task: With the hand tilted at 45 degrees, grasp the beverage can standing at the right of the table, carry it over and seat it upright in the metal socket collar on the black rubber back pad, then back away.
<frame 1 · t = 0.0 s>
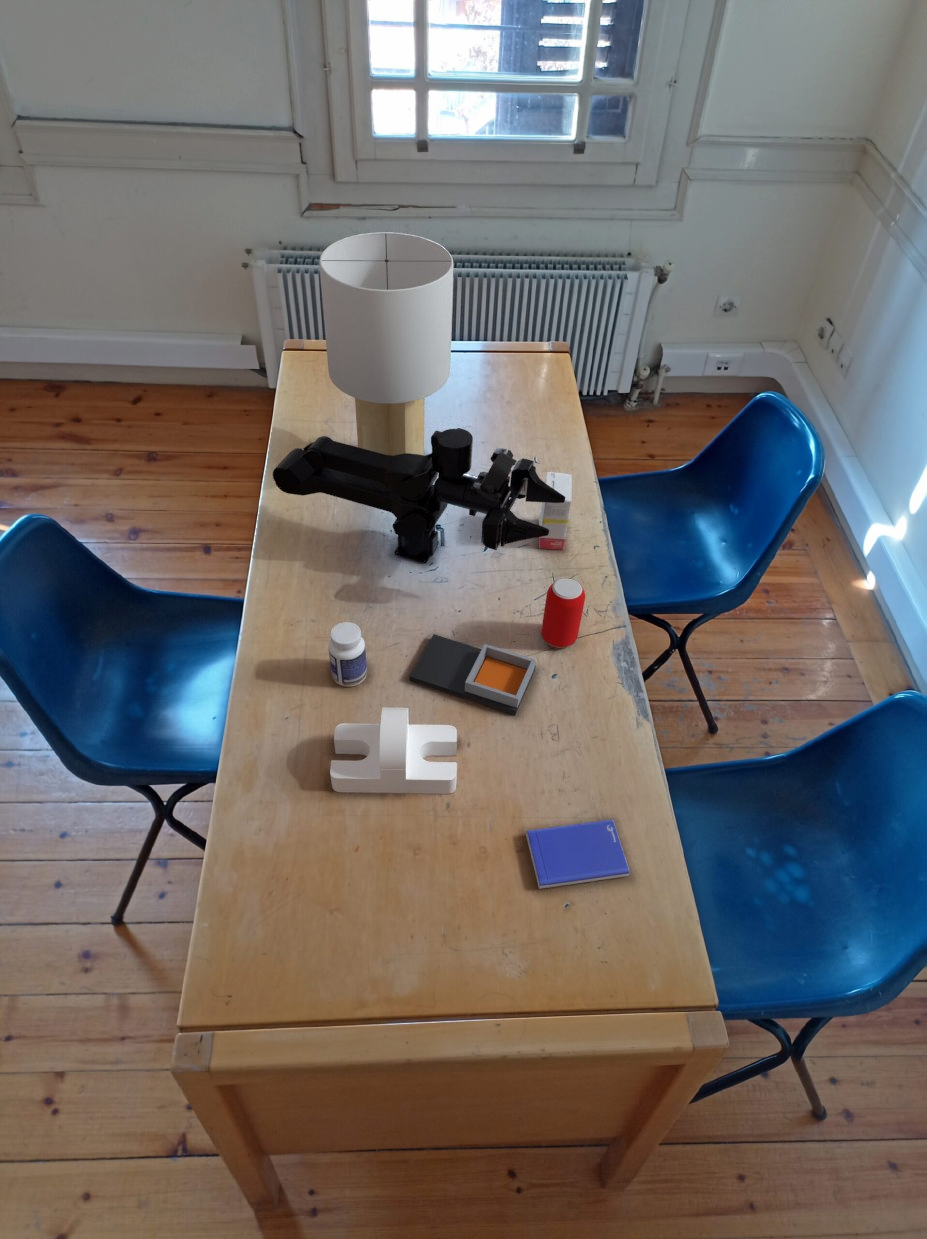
hand: (557, 515, 142), 17 cm above the table, tool horizontal, fingers open, 9 cm apart
ink box: (551, 536, 164), on the table
pill bottle: (349, 675, 139), on the table
beverage can: (558, 638, 146), on the table
lamp: (392, 465, 178), on the table
hard drive: (576, 856, 118), on the table
white slotted fin bracket: (395, 765, 127), on the table
back pad: (472, 675, 139), on the table
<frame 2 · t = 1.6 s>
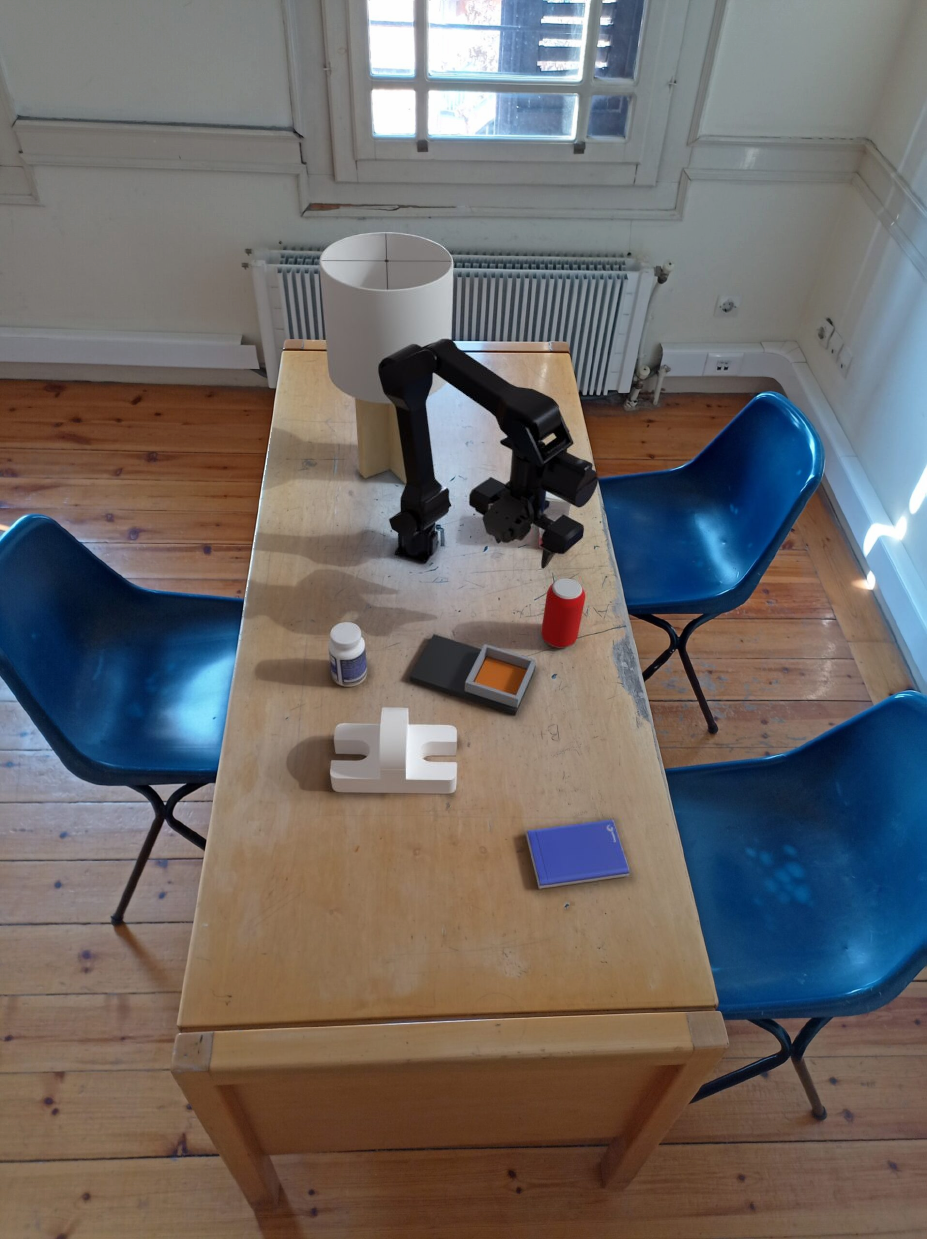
hand: (521, 554, 140), 13 cm above the table, tool pointing down, fingers open, 9 cm apart
nothing on the table moved.
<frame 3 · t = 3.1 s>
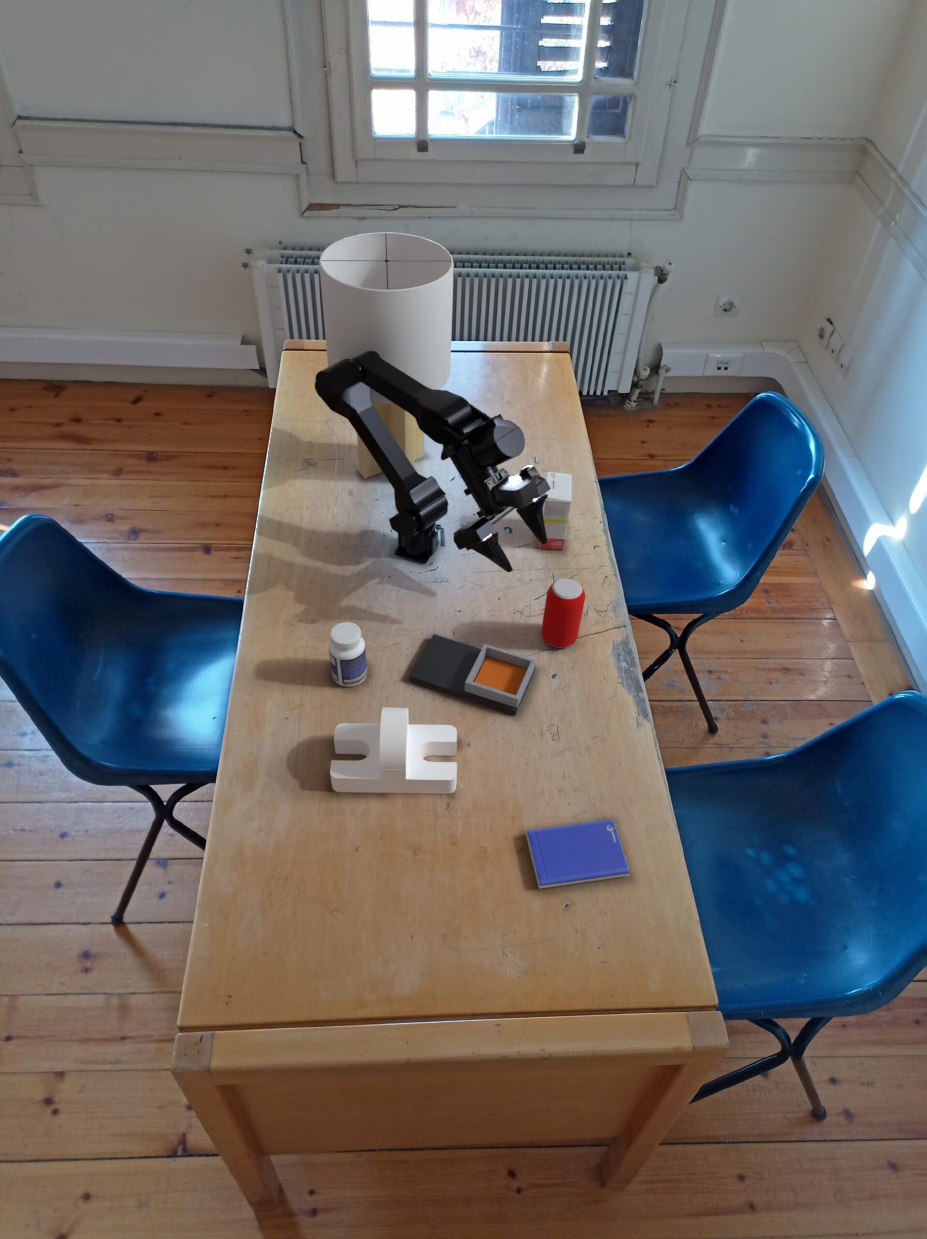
hand: (528, 557, 139), 13 cm above the table, tool tilted 45°, fingers open, 9 cm apart
nothing on the table moved.
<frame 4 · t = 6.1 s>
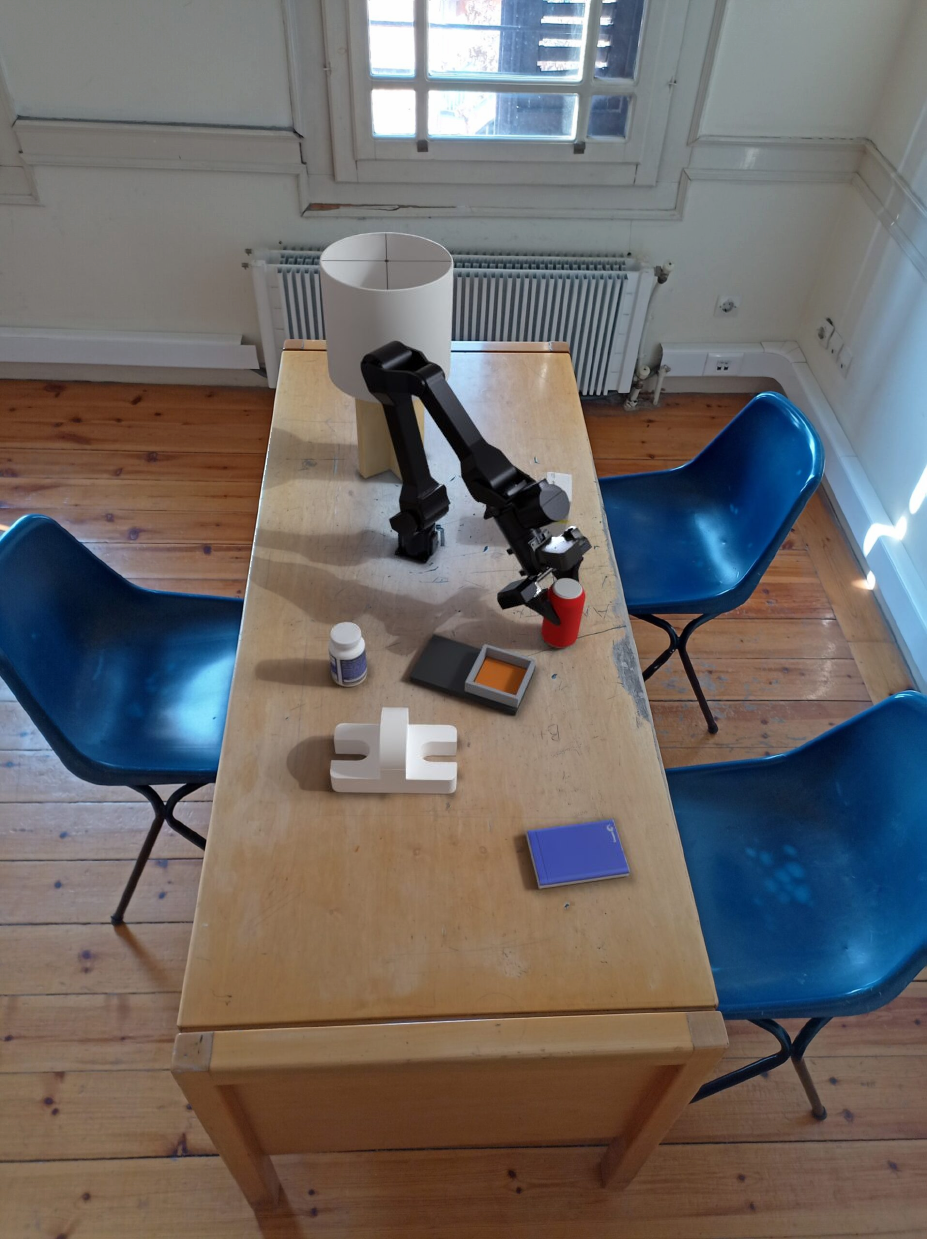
hand: (569, 615, 140), 7 cm above the table, tool tilted 45°, fingers closed on beverage can, 6 cm apart
beverage can: (558, 638, 146), on the table, touching gripper
everything else where it was.
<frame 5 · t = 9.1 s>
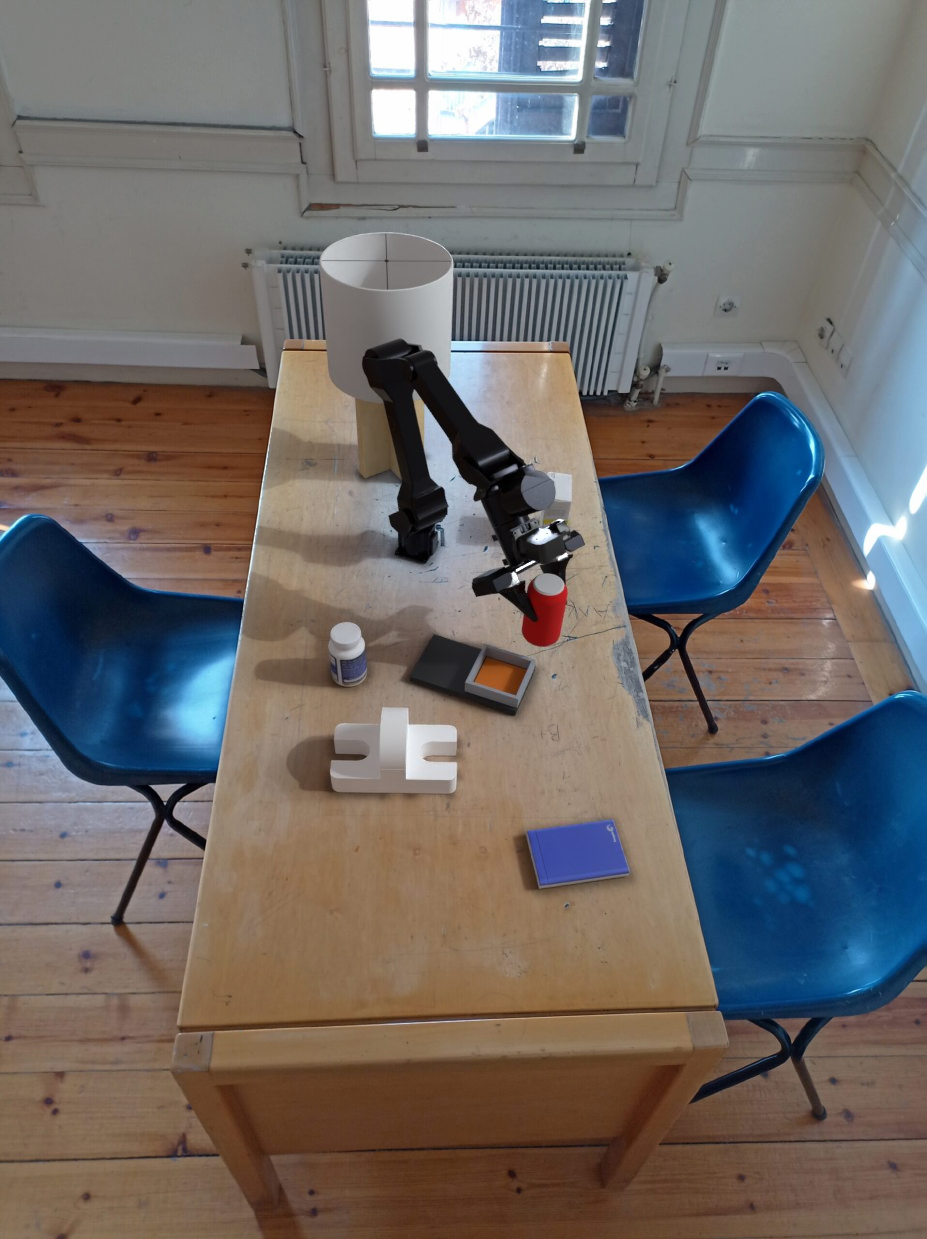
hand: (550, 613, 132), 12 cm above the table, tool tilted 45°, fingers closed on beverage can, 6 cm apart
beverage can: (540, 637, 138), point 6 cm above the table, touching gripper
everything else where it was.
when the fingers open (8 cm above the table, at t = 12.2 s): beverage can stays where it is, resting on back pad.
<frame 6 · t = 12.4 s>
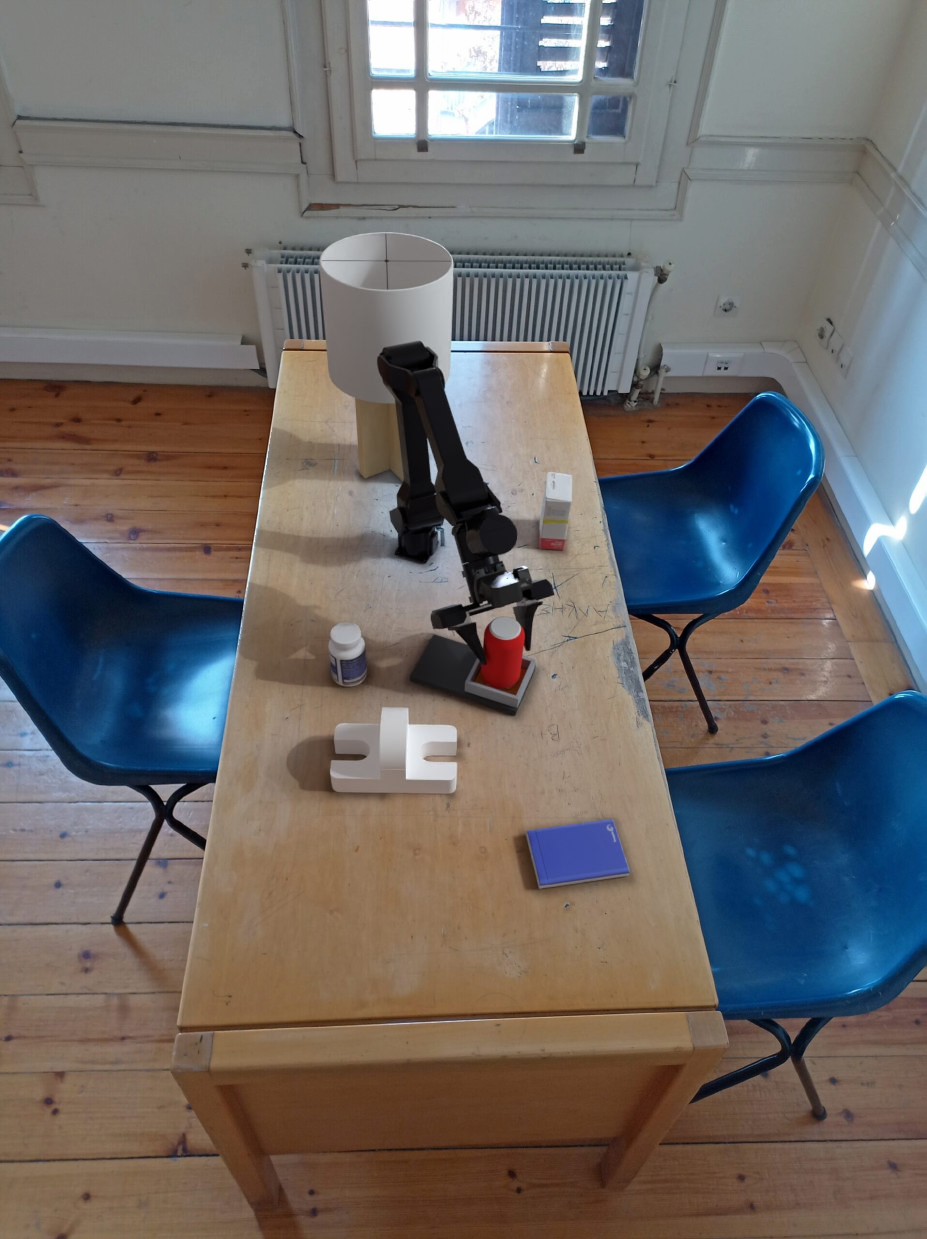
hand: (506, 657, 132), 8 cm above the table, tool tilted 45°, fingers open, 7 cm apart
beverage can: (499, 678, 138), point 1 cm above the table, touching back pad
everything else where it was.
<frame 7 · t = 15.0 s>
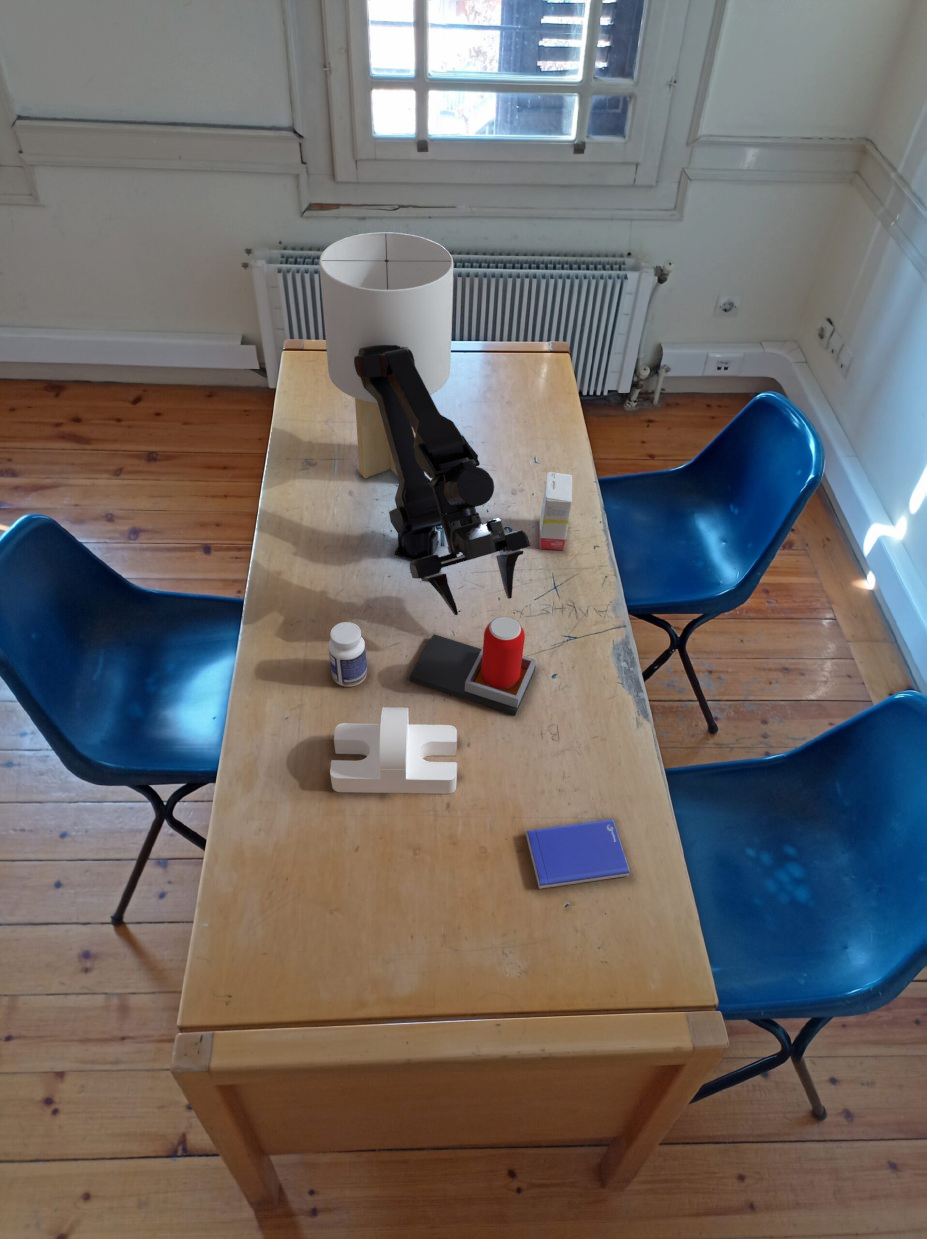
hand: (483, 606, 137), 10 cm above the table, tool tilted 40°, fingers open, 9 cm apart
nothing on the table moved.
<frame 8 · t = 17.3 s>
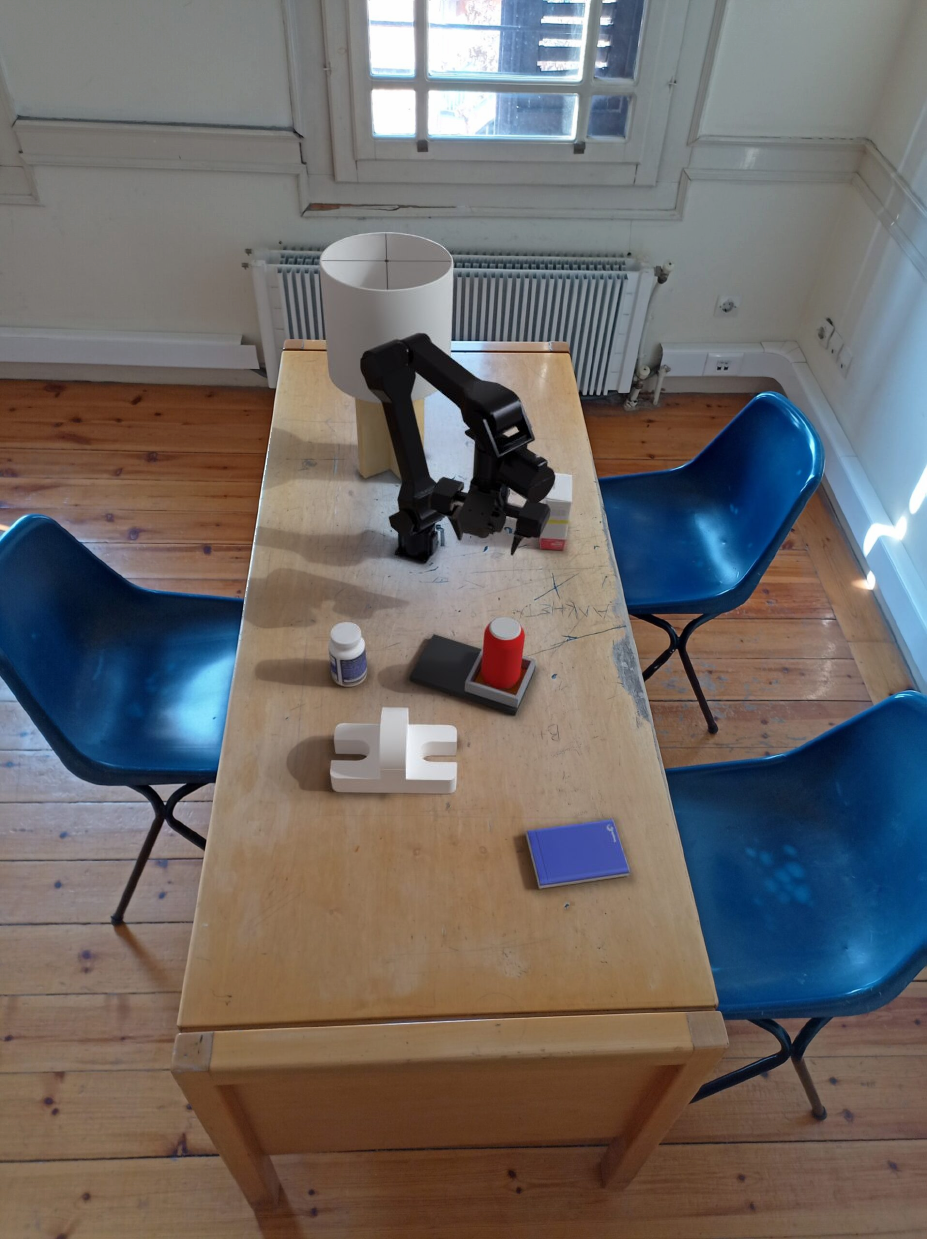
hand: (486, 546, 142), 13 cm above the table, tool pointing down, fingers open, 9 cm apart
nothing on the table moved.
at the end: beverage can 0.2 cm from the target spot on the back pad, point 1.1 cm above the back pad's base; beverage can tilted 0°; lamp moved 0.2 cm from its start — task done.
